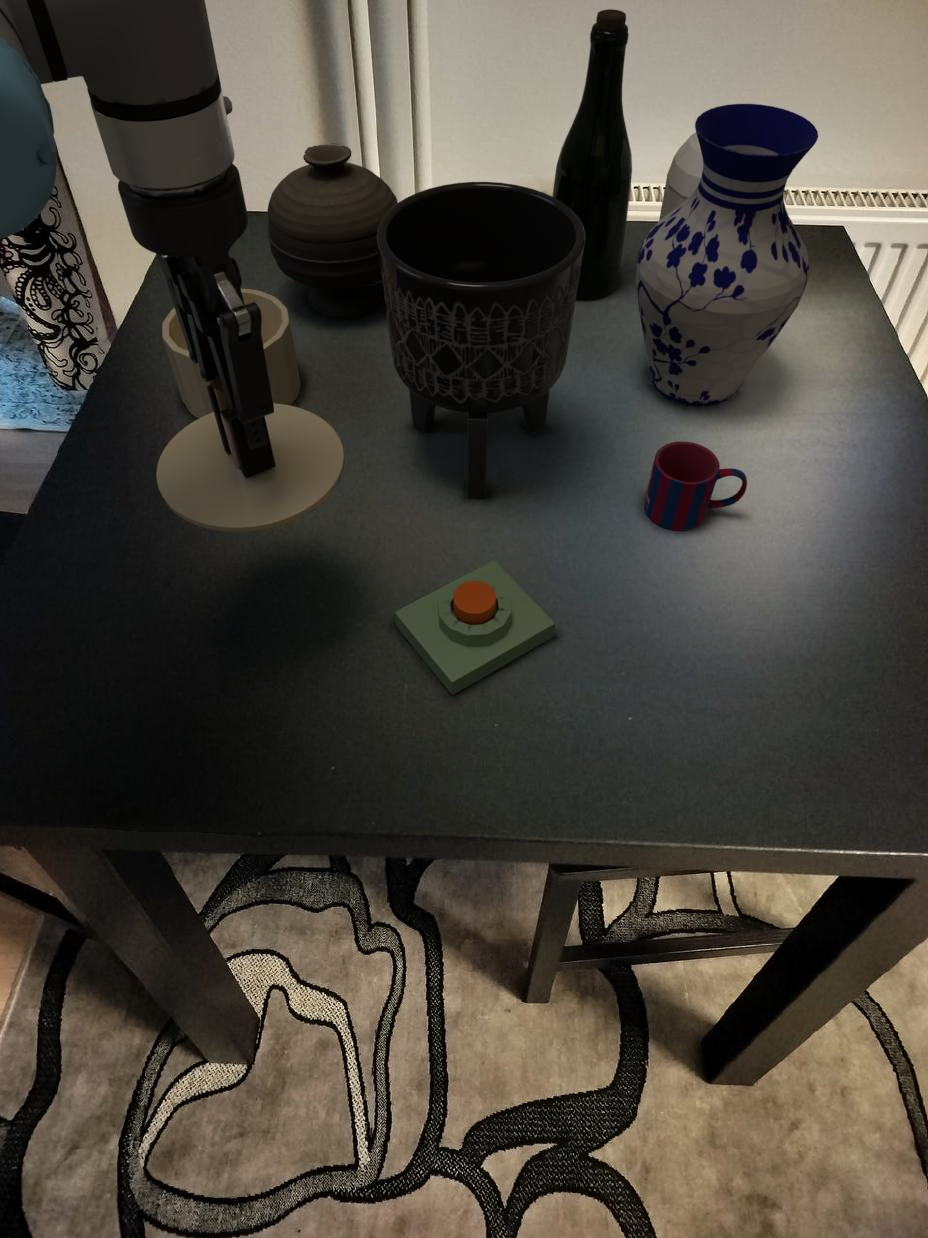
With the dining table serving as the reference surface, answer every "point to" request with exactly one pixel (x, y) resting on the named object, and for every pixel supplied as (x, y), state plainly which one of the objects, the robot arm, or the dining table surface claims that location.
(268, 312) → the canister
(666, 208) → the container
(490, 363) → the planter
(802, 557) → the dining table surface
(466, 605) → the button
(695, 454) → the cup
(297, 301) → the dining table surface
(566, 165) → the wine bottle
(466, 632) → the block
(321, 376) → the dining table surface
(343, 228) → the pot
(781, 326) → the vase
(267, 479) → the lid
